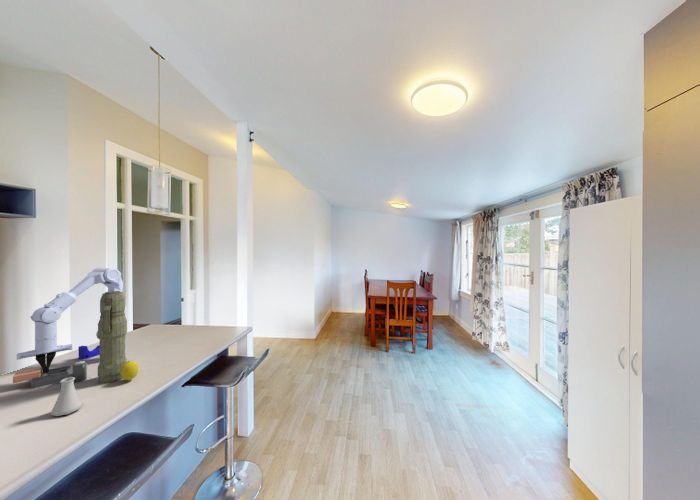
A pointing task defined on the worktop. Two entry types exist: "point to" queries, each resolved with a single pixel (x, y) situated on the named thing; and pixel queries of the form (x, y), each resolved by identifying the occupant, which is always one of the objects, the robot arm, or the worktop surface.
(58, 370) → the socket plate
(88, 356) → the blue notched block
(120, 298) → the green stone statue
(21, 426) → the worktop surface
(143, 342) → the worktop surface
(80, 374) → the plug
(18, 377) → the orange square block
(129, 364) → the lemon
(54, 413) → the flask
